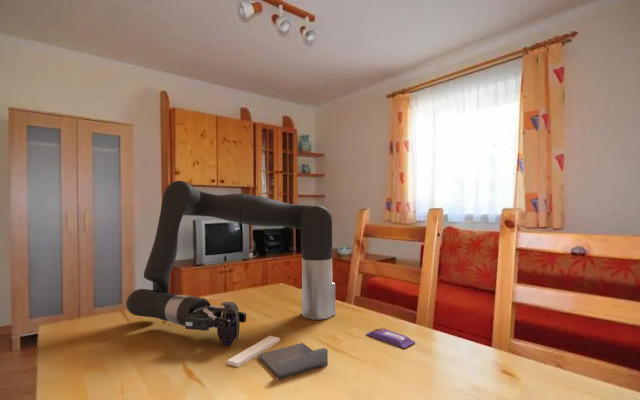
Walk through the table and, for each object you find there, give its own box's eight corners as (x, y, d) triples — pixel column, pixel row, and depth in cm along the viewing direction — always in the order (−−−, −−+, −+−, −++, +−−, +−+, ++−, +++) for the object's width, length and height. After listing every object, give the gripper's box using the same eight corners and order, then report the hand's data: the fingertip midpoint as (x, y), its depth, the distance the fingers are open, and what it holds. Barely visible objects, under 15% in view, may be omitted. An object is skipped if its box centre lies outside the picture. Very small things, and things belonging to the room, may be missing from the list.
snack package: (416, 337, 81) (404, 344, 77) (416, 345, 81) (404, 352, 77) (377, 325, 89) (365, 330, 86) (377, 332, 89) (365, 337, 86)
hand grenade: (245, 342, 82) (245, 301, 82) (233, 350, 77) (234, 306, 77) (224, 339, 84) (225, 299, 84) (212, 347, 79) (213, 304, 79)
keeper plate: (302, 346, 79) (302, 332, 79) (327, 365, 70) (327, 349, 70) (258, 357, 74) (258, 343, 74) (279, 379, 64) (279, 363, 64)
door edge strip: (269, 338, 84) (269, 335, 84) (279, 341, 82) (279, 337, 82) (227, 364, 71) (227, 360, 71) (237, 367, 69) (237, 363, 69)
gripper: (163, 303, 81) (214, 314, 73) (208, 290, 94) (257, 297, 85) (163, 334, 81) (215, 348, 73) (208, 317, 94) (257, 327, 85)
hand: (237, 321), depth 79 cm, fingers closed on hand grenade, 4 cm apart
